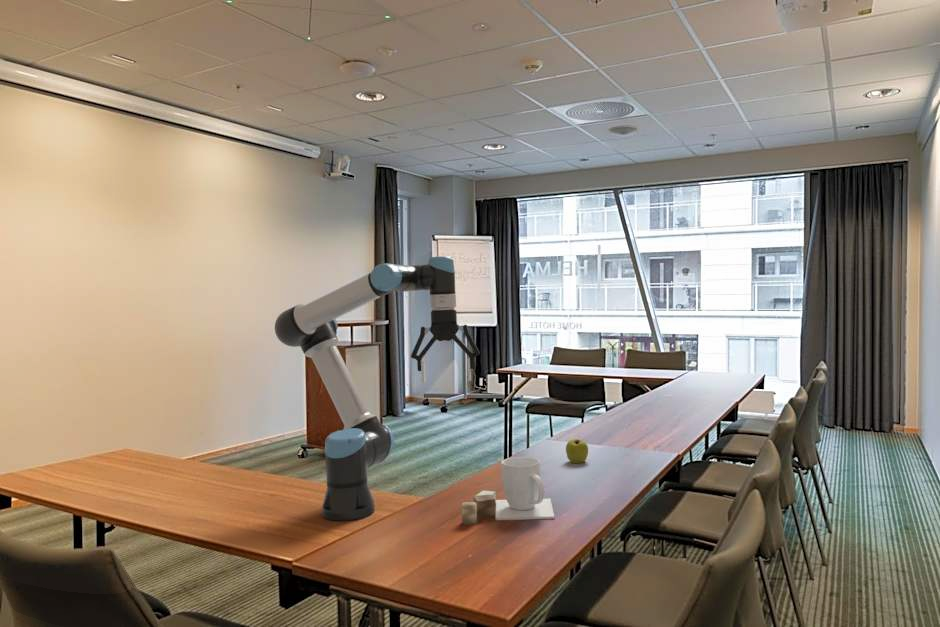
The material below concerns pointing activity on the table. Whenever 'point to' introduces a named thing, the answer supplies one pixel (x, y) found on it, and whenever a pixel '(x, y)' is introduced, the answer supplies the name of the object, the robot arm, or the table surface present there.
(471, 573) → the table surface
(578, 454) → the apple
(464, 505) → the beech cylinder
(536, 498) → the mug
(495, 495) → the sage block
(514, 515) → the pad
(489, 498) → the walnut block
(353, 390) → the robot arm
